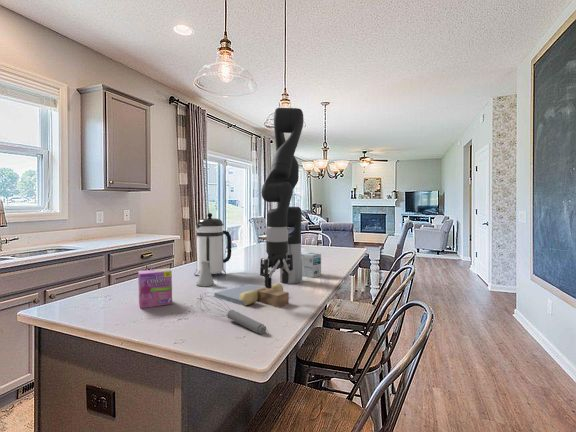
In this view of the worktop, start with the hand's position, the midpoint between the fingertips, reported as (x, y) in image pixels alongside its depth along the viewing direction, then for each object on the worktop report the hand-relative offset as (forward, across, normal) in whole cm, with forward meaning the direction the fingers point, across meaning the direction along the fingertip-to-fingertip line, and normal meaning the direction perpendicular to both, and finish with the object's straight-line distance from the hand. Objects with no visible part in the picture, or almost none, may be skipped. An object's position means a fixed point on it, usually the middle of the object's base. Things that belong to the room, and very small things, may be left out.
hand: (277, 285), depth 119 cm
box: (+7, -28, +31) cm, 43 cm away
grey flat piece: (+6, 0, +14) cm, 15 cm away
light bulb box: (+7, +44, +20) cm, 48 cm away
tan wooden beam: (+6, 0, +3) cm, 7 cm away
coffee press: (+7, +13, +55) cm, 57 cm away
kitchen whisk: (+6, -21, -1) cm, 22 cm away
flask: (+7, 0, +41) cm, 42 cm away
